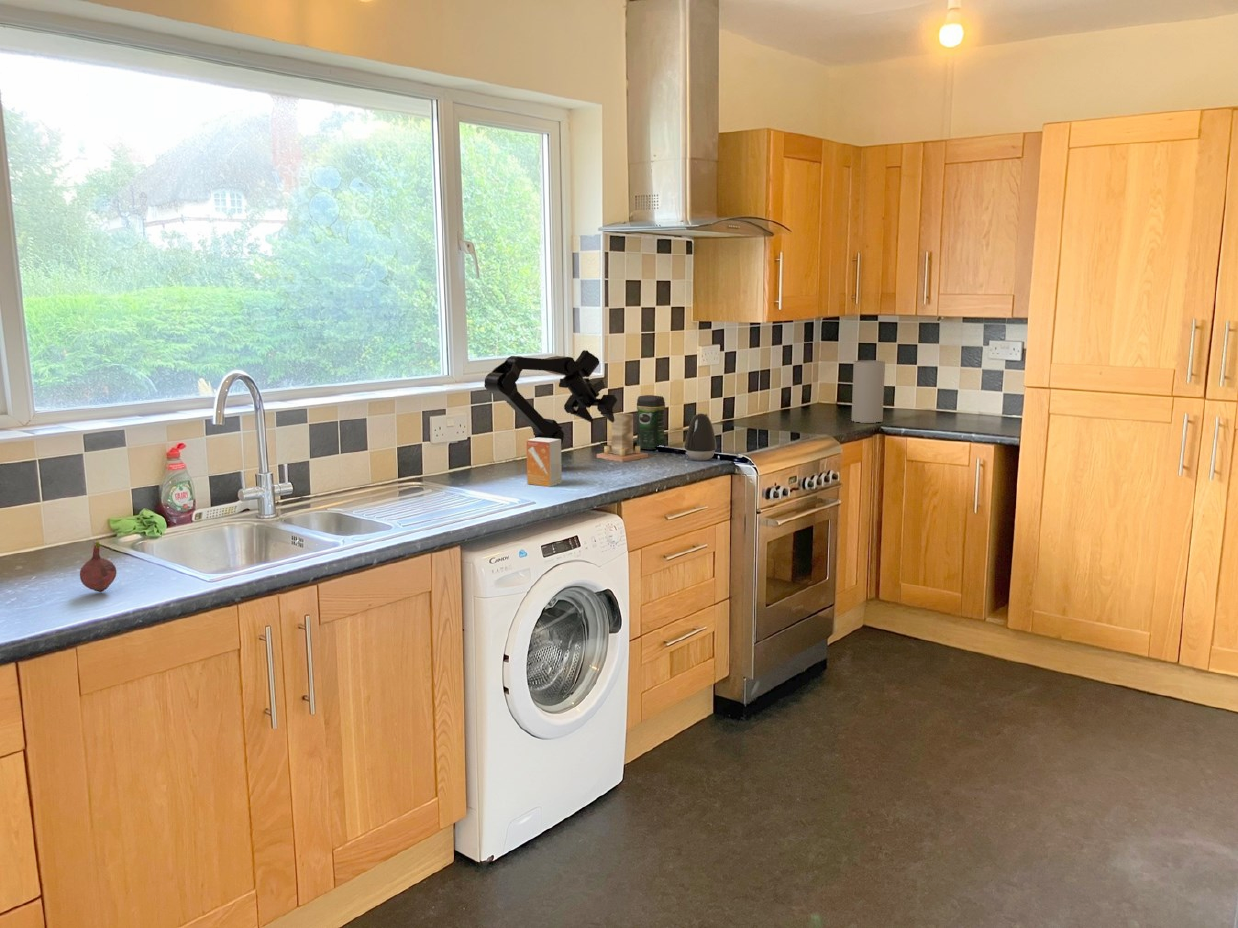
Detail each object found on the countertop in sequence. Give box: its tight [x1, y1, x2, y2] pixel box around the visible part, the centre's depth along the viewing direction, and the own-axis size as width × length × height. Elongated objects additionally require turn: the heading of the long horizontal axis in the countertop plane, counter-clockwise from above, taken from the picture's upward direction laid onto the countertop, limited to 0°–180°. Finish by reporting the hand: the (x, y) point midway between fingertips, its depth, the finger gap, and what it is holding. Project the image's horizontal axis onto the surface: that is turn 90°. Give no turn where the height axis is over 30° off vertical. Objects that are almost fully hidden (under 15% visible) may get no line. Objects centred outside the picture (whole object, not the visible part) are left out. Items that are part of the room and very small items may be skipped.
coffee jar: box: [636, 394, 666, 450], centre depth 339 cm, size 10×8×19 cm
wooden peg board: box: [596, 445, 649, 463], centre depth 322 cm, size 12×12×4 cm
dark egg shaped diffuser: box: [684, 412, 717, 462], centre depth 316 cm, size 10×10×15 cm
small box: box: [526, 437, 563, 488], centre depth 279 cm, size 8×6×13 cm
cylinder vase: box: [851, 359, 886, 424], centre depth 401 cm, size 12×12×25 cm
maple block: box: [611, 412, 634, 455], centre depth 321 cm, size 5×5×13 cm
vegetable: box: [79, 540, 118, 593], centre depth 180 cm, size 6×6×10 cm
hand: (602, 421), depth 314 cm, fingers open, 9 cm apart
